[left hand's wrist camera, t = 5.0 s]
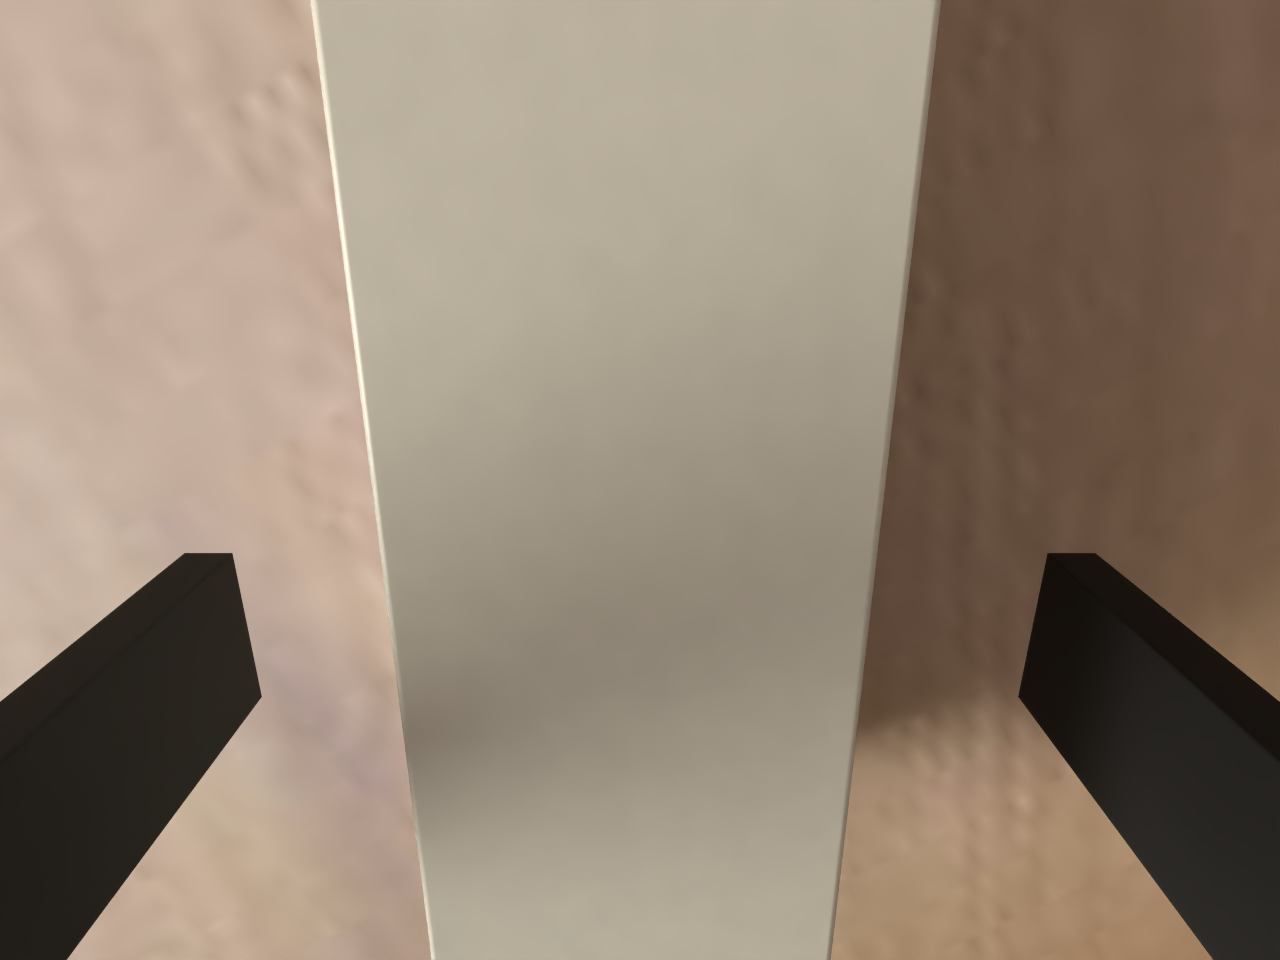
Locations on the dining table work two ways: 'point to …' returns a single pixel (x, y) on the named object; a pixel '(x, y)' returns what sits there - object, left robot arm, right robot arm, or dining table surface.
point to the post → (628, 443)
